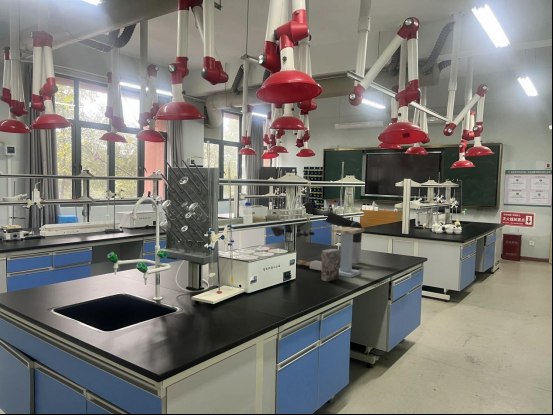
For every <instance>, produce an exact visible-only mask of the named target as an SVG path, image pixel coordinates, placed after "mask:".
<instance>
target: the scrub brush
mask: <svg viewBox="0 0 553 415" xmlns="http://www.w3.org/2000/svg"><path fill="white" fill-rule="evenodd" d="M296 264H297V265H303V266H307V267H309V269H311V270H318V271H321V269H322V264H321V260H312V261H306V260H301V259H298V260H296Z"/></svg>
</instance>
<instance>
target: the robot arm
mask: <svg viewBox="0 0 553 415" xmlns="http://www.w3.org/2000/svg"><path fill="white" fill-rule="evenodd" d="M303 204H304V206H305V208H306V213H308V214H313V215H324V216H328V218H327V219H326V220H322V222H325V223H328V224H329V225H334V226H338V227H352V228H361V229H363V227H362V224H361V222H358V221H355V220H352V219H350V218H349V219H348V218H345V217H343V216H342V215H339V214H337V213H336V212H332V211H329V210H321V209H318V208H315V207H314V205H313V203H312V202H310V201H306V202H304V203H303ZM297 228H298V229H297V239H298V238H300V237H309V236H315V232H314V231H311V230H301V228H300V227H297ZM270 229H271V232H272V234H273V236H275V237H280V236H284V227H283V226H278V227H272V226H271V227H270ZM362 236H363V232H360V233H356V234H353V249H352V265H353V264H355V265H356V264H361V259H362V258H361V257H362V256H361V254H362Z"/></svg>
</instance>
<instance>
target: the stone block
mask: <svg viewBox="0 0 553 415" xmlns="http://www.w3.org/2000/svg"><path fill="white" fill-rule="evenodd" d="M320 254H321V255H320V261H321V264H322V269H321V270H320V271H321V272H320V273H321V280H322V281H324V282H331V281H335V280H338V279H339V276H340V275H339V268H340V260H341V249H340V250H339V249H336V248H329V249H323V250H322V251H321V252H320Z"/></svg>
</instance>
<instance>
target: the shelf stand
mask: <svg viewBox="0 0 553 415" xmlns="http://www.w3.org/2000/svg"><path fill="white" fill-rule="evenodd" d="M365 230H366V229H365V228H362V229H361V228H352V227H341V226H339V227H335V228H330V229H329V232H330V233H335V234H341V236H340V237H341V238H340V239H341V242H340V252H341V253H340V263H339V276H341V277H347V278H350V279H351V278H353V277H356V276H358V275H361V274H362V270H360V269H359V270H358V269H353V268H352V267H353V263H352V249H353V234H356V233H360V232H362V233H364V232H365Z"/></svg>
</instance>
